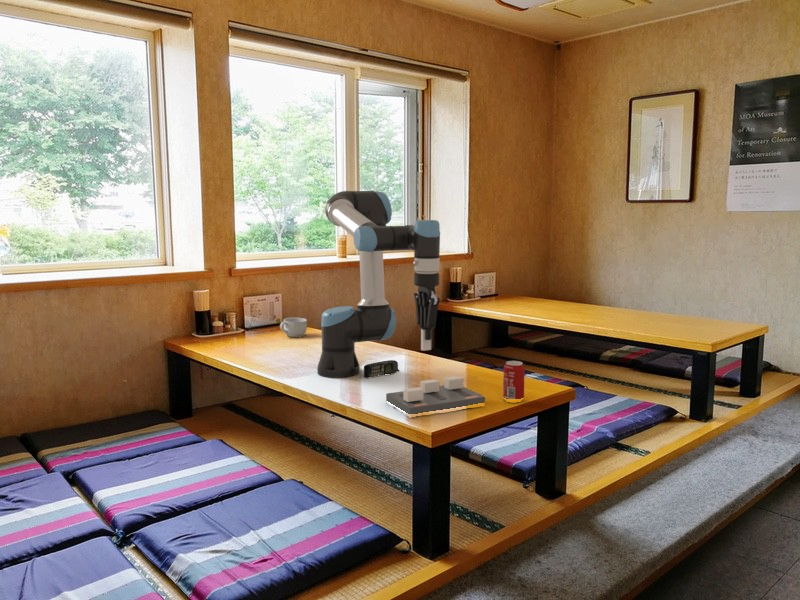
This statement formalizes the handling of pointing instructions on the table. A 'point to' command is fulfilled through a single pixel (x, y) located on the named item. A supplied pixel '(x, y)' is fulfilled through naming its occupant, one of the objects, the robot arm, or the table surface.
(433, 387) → the tab
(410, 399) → the tab
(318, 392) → the table surface
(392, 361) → the mobile phone
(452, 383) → the tab
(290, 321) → the teacup
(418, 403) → the switch plate
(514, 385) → the beverage can
